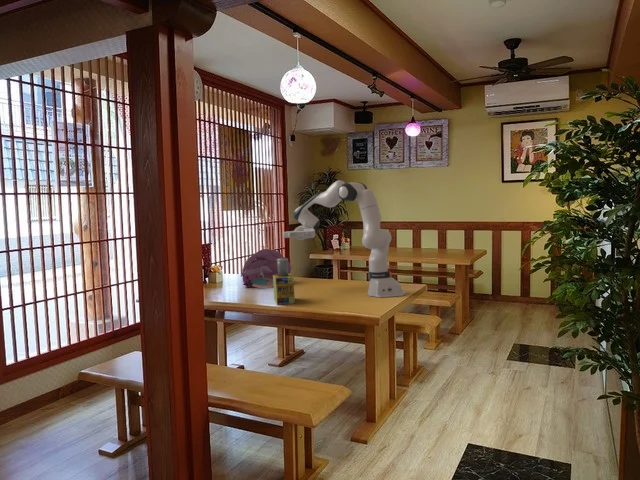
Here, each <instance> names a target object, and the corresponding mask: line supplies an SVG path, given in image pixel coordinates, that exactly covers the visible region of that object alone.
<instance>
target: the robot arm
mask: <svg viewBox="0 0 640 480" xmlns="http://www.w3.org/2000/svg"><path fill="white" fill-rule="evenodd" d="M342 200H343V201H345V202H354V201H355V202H357V203H358V207H359V211H360V212H359V213H360V215H361V216H360V217H361V219H362V223H363V224H362V226H363V227H362V228H363V235H362V238H361V243H362V246H363V247H364V248H366V249H368V250H371V251H370V255H369V256H368V257H369V258H368V281H369V284H368V291H367V296H368V297H369V296H370V297H375V298H391V297H403V296H406V291H405V290H403V289H402V285H401V283H400V282H399V281H397V280H396V279H395V278H393V277H392V276H393V272H392V271H390V270H388V269H389V267H388V254H389V249H390V244H391V242H392V238H393V237H392V234H391V232H390V231H389V230H387V229H384V228H381V220H382V216H381V212H380V208H379V204H378V201H377V198H376V195H375V193H374V191H373V190H372V189H369V188H368V187H367V186H366V184H365V183H362V182H353V181H352V182H345V181H344V180H341V179H338V180H336V181H335V182H333V183H331V185H330V186H329V187H328V188H327V189H326V190H325V191H323V192H320V191H319V192H316V193H315V194H314V195H313V196H311V197H310V198H309V199H308V200H306V201H305V202H304V203H303V204H302V205H300V206H298V207H297V208H296V209H295V210H294V212H293V218H294V219H295V220H296V221H297V222H299V223H300V224H301V225H299V226H297V227H295V229H294V230H291V231H290V230H289V231H288V230H287V231H283V233H282V238H283V239H290V238H292V239H293V238H295V239H296V240H298V241H304V240H307V239H313V238H315V237H316V230H318V228H319V226H320V223H321V222H320V219H319V218H318V217H317V216H316V215H314V214H313V213H312V212H311V211H310V210H309V208H310V207H311V206H313V205H314V204H316V205H320V206H323V207H325V208H334V207H335V208H336V206H338V204H339V203H340V202H341V201H342Z"/></svg>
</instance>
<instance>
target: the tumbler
mask: <svg viewBox="0 0 640 480" xmlns="http://www.w3.org/2000/svg"><path fill="white" fill-rule="evenodd" d="M287 260H288V261H289V259H288V257H285V258H279V259H277V266H278V276H279V277H284V276H288V274H289V273H288V262H287Z"/></svg>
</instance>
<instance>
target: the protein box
mask: <svg viewBox="0 0 640 480" xmlns="http://www.w3.org/2000/svg"><path fill="white" fill-rule="evenodd" d="M273 284H274V286H273V296H274V297H273V298H274V301H275V304H276V305H277V306H280V305H291V304H296V302H295V300H296V298H295V296H296V295H295V281H294V276H293V275H292V274H291V273H288V276H284V277H279V276H278V274H276V275H273Z"/></svg>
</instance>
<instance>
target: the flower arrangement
mask: <svg viewBox="0 0 640 480" xmlns="http://www.w3.org/2000/svg"><path fill="white" fill-rule="evenodd" d="M279 258H286V257H285V256H284V255H283V254H282V253H281V252H279V251H278V250H275V249H269V248H263V249H260V250H258V251H257V252H254V253H253V254H252V255H251V256H250V257H248V259H246V261H245V262H244V265H243V267H242V270H241V275H240V277H242V282H243V284H242V285H243V286H245V287H249V288H250V287H255V288H259V289H266V288H267V289H268V288H272V287H273V288H274V284H273V275H276V274H278V266H277V259H279ZM287 262H288V274H291V271H292V266H291V263H290V261H289V259H288V260H287Z"/></svg>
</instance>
